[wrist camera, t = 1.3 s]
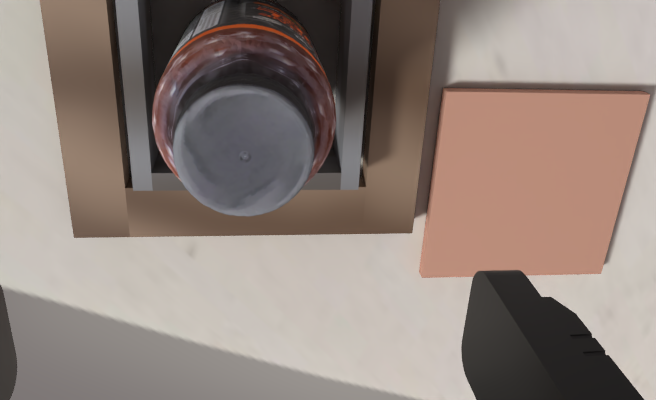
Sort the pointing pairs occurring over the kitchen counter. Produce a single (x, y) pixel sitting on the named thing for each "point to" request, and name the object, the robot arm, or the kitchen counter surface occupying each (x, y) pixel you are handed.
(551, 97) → the mat
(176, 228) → the wooden square tray
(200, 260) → the kitchen counter surface
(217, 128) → the supplement bottle
